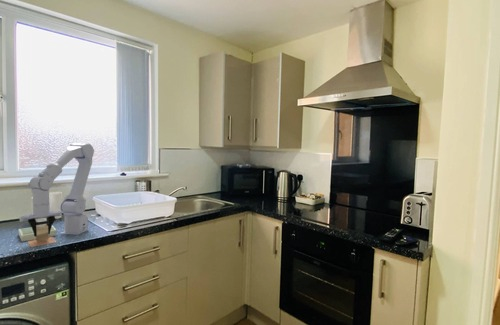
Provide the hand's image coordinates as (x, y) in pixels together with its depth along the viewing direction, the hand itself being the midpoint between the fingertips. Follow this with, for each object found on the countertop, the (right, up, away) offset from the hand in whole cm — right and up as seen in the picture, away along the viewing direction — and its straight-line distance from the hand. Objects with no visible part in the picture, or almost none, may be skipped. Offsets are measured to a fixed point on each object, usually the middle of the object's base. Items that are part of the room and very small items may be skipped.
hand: (42, 234), depth 119 cm
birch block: (0, -2, 0) cm, 2 cm away
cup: (-24, -2, +31) cm, 39 cm away
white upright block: (-22, -1, +40) cm, 45 cm away
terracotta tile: (0, -4, 0) cm, 3 cm away
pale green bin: (-9, -3, +9) cm, 13 cm away
